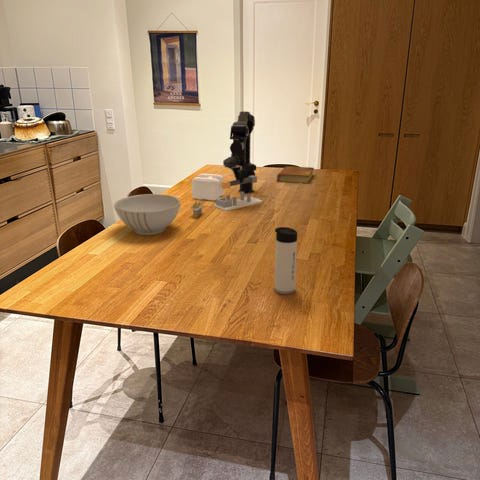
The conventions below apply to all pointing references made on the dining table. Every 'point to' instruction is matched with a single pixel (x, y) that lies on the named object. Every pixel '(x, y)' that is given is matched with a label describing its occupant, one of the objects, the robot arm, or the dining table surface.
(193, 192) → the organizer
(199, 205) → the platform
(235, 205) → the board
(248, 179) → the grey brown bar
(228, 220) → the dining table surface
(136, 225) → the decorative bowl
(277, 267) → the travel mug
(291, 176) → the diary
